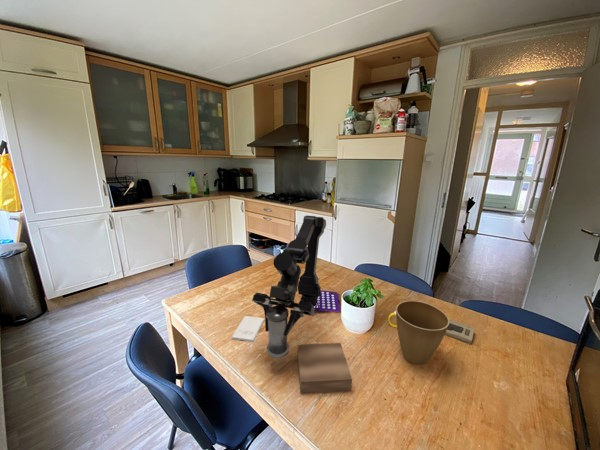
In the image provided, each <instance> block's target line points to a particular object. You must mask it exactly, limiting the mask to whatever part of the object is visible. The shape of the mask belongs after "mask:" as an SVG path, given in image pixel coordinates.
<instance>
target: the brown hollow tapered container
mask: <svg viewBox="0 0 600 450" xmlns="http://www.w3.org/2000/svg"><path fill="white" fill-rule="evenodd" d="M395 311H396V316H395V318H396V325H397V327H396V329H397V336H398V341H399V346H400V348H401V352H402V355H403V357H404V359H406V361H408V362H410V363H411V364H413V365H418V366H419V365H426V364H427V362H429V360H430V359H431V358H432V357H433V356H434V354H435V353H436V351H437V349H438V348H439V346H440V345H441V342H442V341H443V340H444V337H445V336H446V335H445V333H446V330H447V328H448V325H449V319H450V318H449V316H447V314H446V313H445V312H444V311H442V310H441V309H440V308H438V307H436V306H434V305H432V304H430V303H427V302H424V301H419V300H405V301H401V302H399V303H398V304H397V305H396V306H395Z"/></svg>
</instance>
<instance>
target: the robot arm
mask: <svg viewBox="0 0 600 450" xmlns="http://www.w3.org/2000/svg"><path fill="white" fill-rule="evenodd" d="M302 219H303V220H302V223H301V226H300V227H299V230H298V232H297V234H296V237H295V238H294V239H293V240H291V241H289V243H288V244H287V246H286V247H285V249H283V250H282V252H281V253H279V254H277V255H276V256H275V257H274V258H273V266H274V269H276V271H277V272H278V273H279V274H280V275H281V277H280V280H278V282H277V284H276V285H271V286H270V290H269V291H270V292H269V295H268V294H266V293H262V292H255V293H254V294H253V297H252V300H251V301H252V302H253V303H255V304H256V305H258V306H261V307H262V308H263V311H264V323H265V325H264V326H265V332H266V333H268V319H267V316H266V312H267V310H268V309H269V308H270V307H273V306H284V307H286V308H287V309H290V310H289V311H290V312H289V317H288V320H287V327H286V331H285V336H287V337H288V335H289V333H291V331H292V329H293V327H294V326H295V324H296V323H297V322H298V321H299V320H300V319H301V318H305V315H306V316H311V317H314V316H315V310H316V309H315V308H314V306H315V305H316V303H317V304H318V298H319V297H321V296H322V287H321V286H320V283H319V277H318V275H317V273H316V269H317V261H318V254H319V243H320V238H321V236H322V235H323V234H324V231H325V229H326V227H327V220H326V219H325V218H324V217H323V216H316V215H304V216H303V218H302ZM298 264H301V265H305V266H304V272H303V273H302V269H301V268H300V265H298ZM297 292H298V295H301V297H300V300H299V301H298V302H295V297H296V295H297Z"/></svg>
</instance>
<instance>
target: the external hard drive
mask: <svg viewBox="0 0 600 450" xmlns="http://www.w3.org/2000/svg"><path fill="white" fill-rule="evenodd" d="M264 323H265V317H264V318H263V317H257V316H249V315H245V316H244V317H243V318H242V320H241V321H240V323H239V325H238V326H237V328H236V329H235V331H234V333H233V334H232V335H231V339H230V340H235V341H244V342H249V343H254V342H255V341H256V338H257V336H258V334H259V332H260V330H261V328H262V326H263V324H264Z"/></svg>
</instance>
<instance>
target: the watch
mask: <svg viewBox="0 0 600 450" xmlns="http://www.w3.org/2000/svg"><path fill="white" fill-rule="evenodd" d="M394 316H395V317H396V310H394V312H391V313H390V314H389V315H388V319H387V321H388V323H389V325H390V326H391V327H393V328H397V324H395V323H393V322H391V319H390V318H391V317H394Z"/></svg>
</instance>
